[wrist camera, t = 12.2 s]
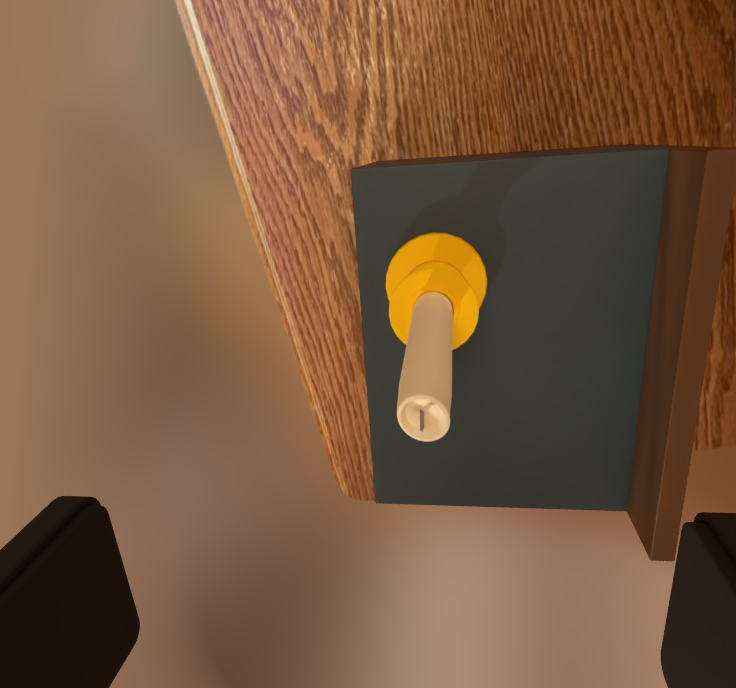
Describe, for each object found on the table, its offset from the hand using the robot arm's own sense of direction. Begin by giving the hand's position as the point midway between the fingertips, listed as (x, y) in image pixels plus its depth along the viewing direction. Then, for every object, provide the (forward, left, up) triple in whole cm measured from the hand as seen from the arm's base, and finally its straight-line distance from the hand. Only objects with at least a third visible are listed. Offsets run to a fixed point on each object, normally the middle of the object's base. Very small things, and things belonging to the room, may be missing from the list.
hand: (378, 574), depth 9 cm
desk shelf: (+4, -4, -31) cm, 32 cm away
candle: (0, 0, -21) cm, 21 cm away
